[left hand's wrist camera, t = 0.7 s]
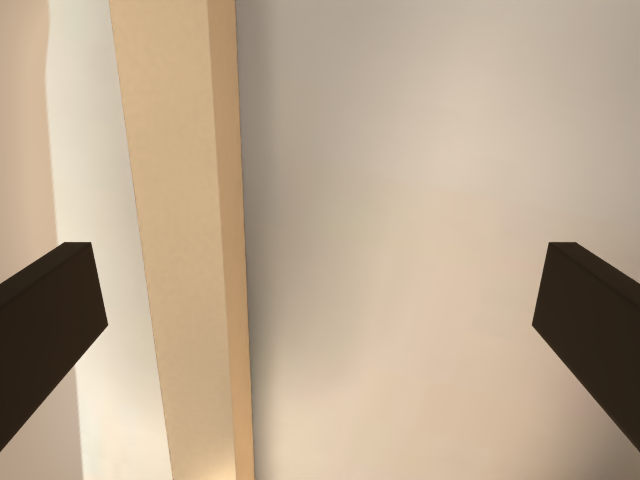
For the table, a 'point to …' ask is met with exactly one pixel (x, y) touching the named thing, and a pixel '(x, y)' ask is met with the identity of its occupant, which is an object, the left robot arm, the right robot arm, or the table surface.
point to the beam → (191, 222)
